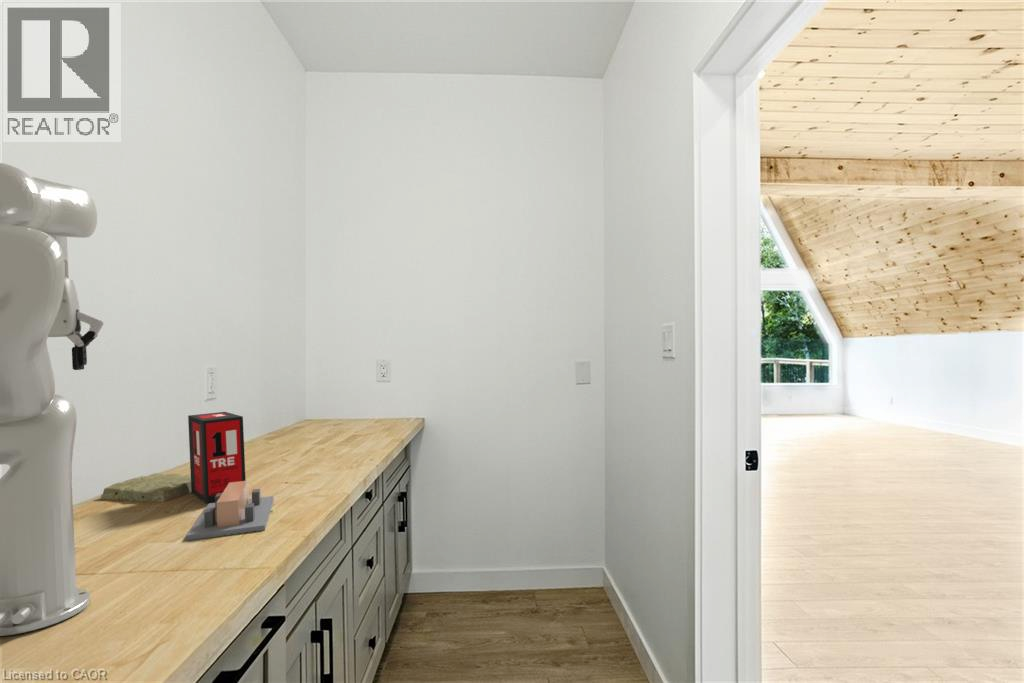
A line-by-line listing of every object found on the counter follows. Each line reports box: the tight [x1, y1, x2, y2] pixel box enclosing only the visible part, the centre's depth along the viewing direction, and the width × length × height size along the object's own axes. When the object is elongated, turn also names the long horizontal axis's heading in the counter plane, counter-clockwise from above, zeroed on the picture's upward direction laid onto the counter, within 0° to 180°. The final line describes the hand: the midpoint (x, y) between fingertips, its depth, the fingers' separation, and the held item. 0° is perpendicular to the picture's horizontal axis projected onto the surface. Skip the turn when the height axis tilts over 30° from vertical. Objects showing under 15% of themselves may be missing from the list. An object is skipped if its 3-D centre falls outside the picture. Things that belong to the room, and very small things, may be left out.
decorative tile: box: [100, 472, 192, 503], centre depth 153 cm, size 19×20×4 cm
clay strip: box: [216, 480, 250, 527], centre depth 126 cm, size 18×4×5 cm, turn 18°
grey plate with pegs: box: [186, 488, 274, 541], centre depth 126 cm, size 24×14×4 cm, turn 18°
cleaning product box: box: [187, 411, 247, 505], centre depth 148 cm, size 16×9×20 cm, turn 40°
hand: (45, 371), depth 100 cm, fingers open, 9 cm apart
